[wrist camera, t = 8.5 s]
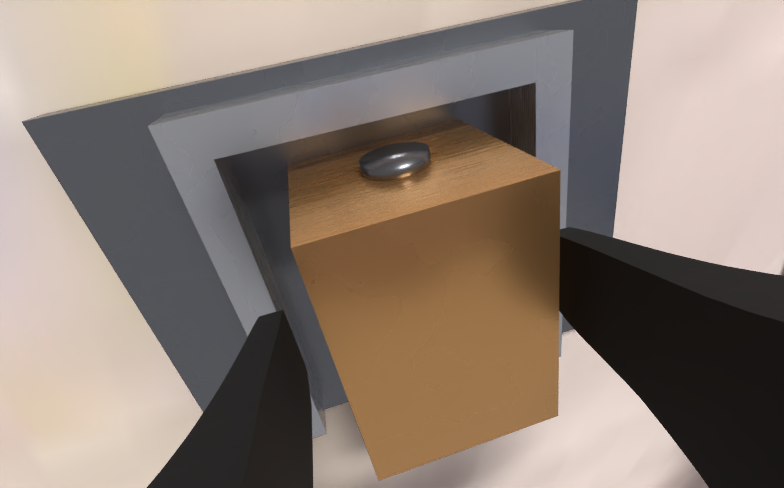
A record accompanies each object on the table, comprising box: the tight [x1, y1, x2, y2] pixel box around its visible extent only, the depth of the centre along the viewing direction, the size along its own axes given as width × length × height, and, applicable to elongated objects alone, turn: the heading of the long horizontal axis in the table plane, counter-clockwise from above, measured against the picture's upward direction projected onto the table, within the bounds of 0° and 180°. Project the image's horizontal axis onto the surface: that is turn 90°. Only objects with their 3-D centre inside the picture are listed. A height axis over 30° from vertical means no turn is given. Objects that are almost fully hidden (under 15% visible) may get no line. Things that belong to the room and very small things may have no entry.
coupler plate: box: [22, 0, 638, 438], centre depth 13 cm, size 12×16×2 cm
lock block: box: [288, 119, 561, 481], centre depth 11 cm, size 7×5×5 cm
